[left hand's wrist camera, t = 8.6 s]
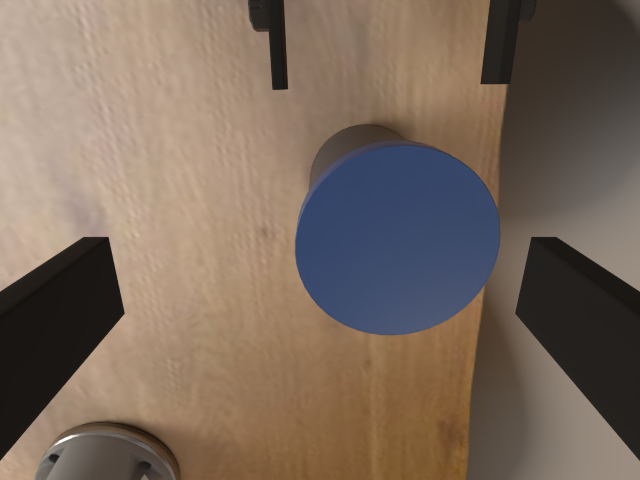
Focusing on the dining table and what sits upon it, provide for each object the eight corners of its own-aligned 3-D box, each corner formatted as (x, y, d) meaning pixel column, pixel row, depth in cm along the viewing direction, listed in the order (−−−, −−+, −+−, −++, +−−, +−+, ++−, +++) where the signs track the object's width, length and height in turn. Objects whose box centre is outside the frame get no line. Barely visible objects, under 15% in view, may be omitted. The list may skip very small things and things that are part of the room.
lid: (279, 158, 20) (275, 165, 18) (484, 123, 19) (500, 127, 17) (314, 328, 23) (314, 347, 22) (486, 303, 23) (500, 320, 21)
